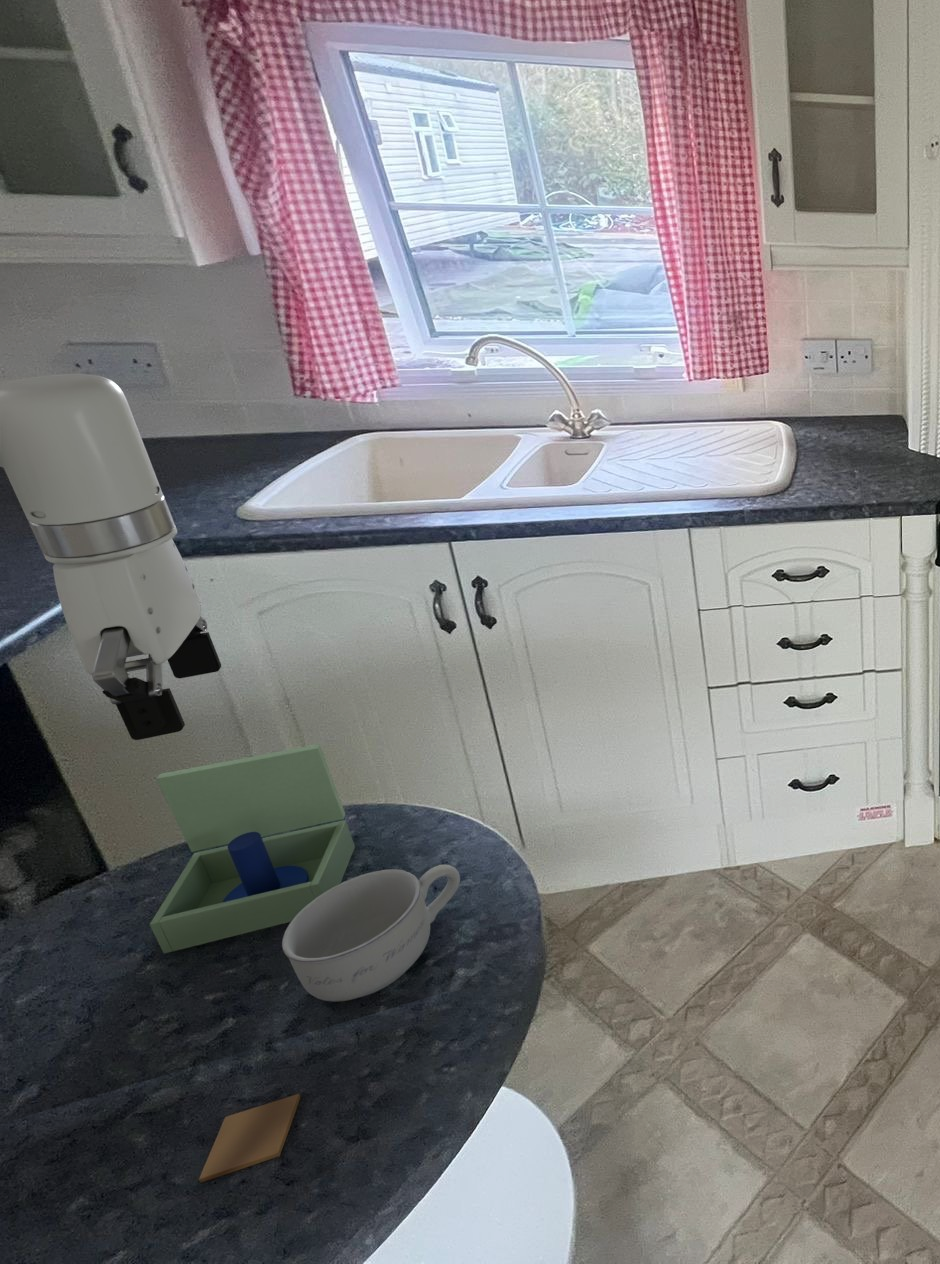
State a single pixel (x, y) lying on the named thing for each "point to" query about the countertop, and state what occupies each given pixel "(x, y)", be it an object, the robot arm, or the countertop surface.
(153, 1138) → the countertop surface
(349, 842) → the green wooden box
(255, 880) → the blue cylinder on disc
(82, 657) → the robot arm
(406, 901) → the teacup
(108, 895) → the countertop surface
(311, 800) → the hatch
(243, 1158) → the trivet
